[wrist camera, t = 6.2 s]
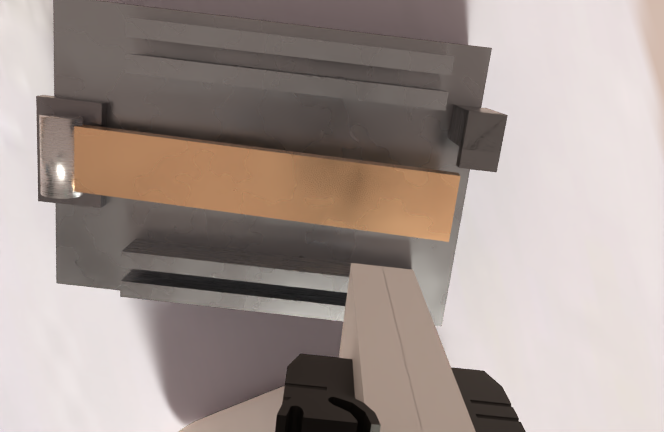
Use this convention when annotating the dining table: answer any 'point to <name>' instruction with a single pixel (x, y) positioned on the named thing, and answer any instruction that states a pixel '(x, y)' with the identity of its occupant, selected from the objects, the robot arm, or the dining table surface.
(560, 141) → the dining table surface
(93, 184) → the strap
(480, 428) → the robot arm
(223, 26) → the grey stepped block
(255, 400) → the cable organizer
